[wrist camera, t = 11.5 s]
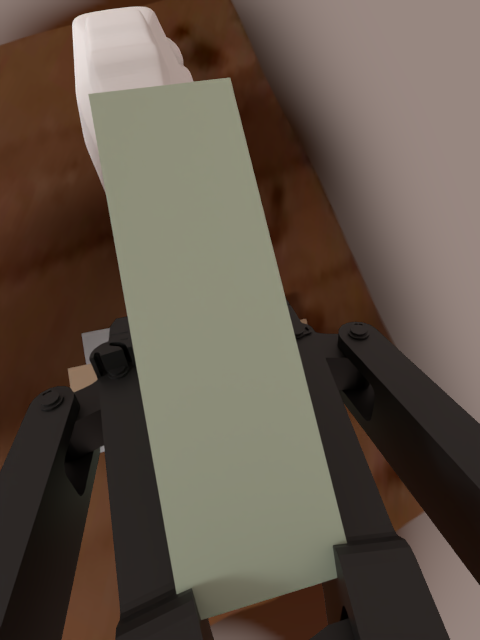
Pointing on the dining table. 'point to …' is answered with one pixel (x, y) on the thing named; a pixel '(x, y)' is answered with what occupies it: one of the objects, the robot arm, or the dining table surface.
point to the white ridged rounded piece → (120, 60)
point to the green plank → (214, 349)
